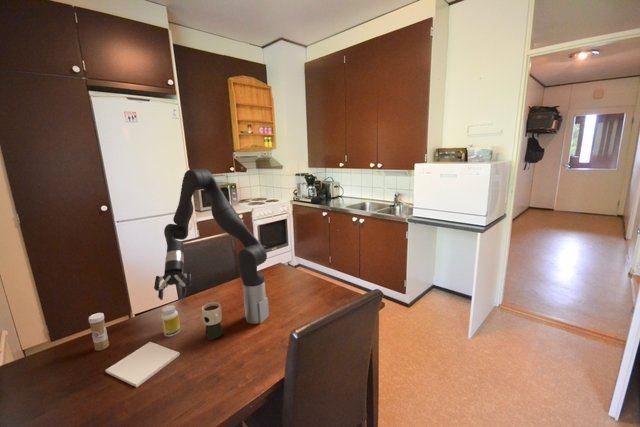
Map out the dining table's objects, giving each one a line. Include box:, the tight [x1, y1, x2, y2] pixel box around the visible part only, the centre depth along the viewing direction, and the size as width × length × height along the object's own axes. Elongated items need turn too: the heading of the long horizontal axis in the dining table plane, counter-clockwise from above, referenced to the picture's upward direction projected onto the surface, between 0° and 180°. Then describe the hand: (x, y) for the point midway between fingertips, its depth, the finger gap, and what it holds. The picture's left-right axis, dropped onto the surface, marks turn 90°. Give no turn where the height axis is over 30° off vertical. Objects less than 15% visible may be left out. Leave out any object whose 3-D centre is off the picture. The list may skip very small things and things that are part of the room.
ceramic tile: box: [105, 341, 180, 388], centre depth 101 cm, size 16×16×1 cm
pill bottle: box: [160, 304, 181, 338], centre depth 117 cm, size 6×6×11 cm
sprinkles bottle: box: [88, 312, 110, 351], centre depth 109 cm, size 5×5×14 cm
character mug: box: [201, 301, 223, 341], centre depth 114 cm, size 11×7×13 cm, turn 44°
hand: (172, 297), depth 122 cm, fingers open, 8 cm apart
